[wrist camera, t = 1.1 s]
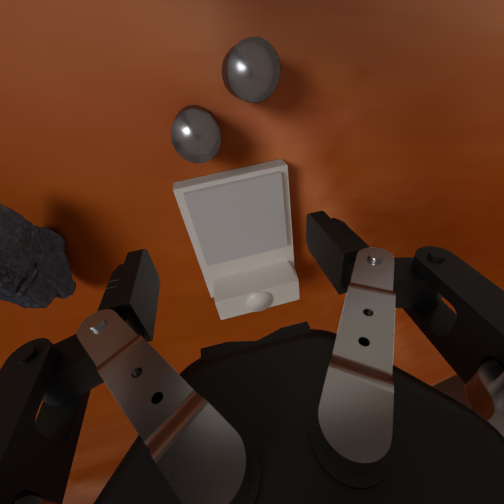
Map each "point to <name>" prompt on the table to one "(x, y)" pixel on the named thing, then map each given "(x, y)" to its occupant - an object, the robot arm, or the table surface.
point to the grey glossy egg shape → (251, 69)
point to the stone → (31, 263)
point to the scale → (242, 236)
